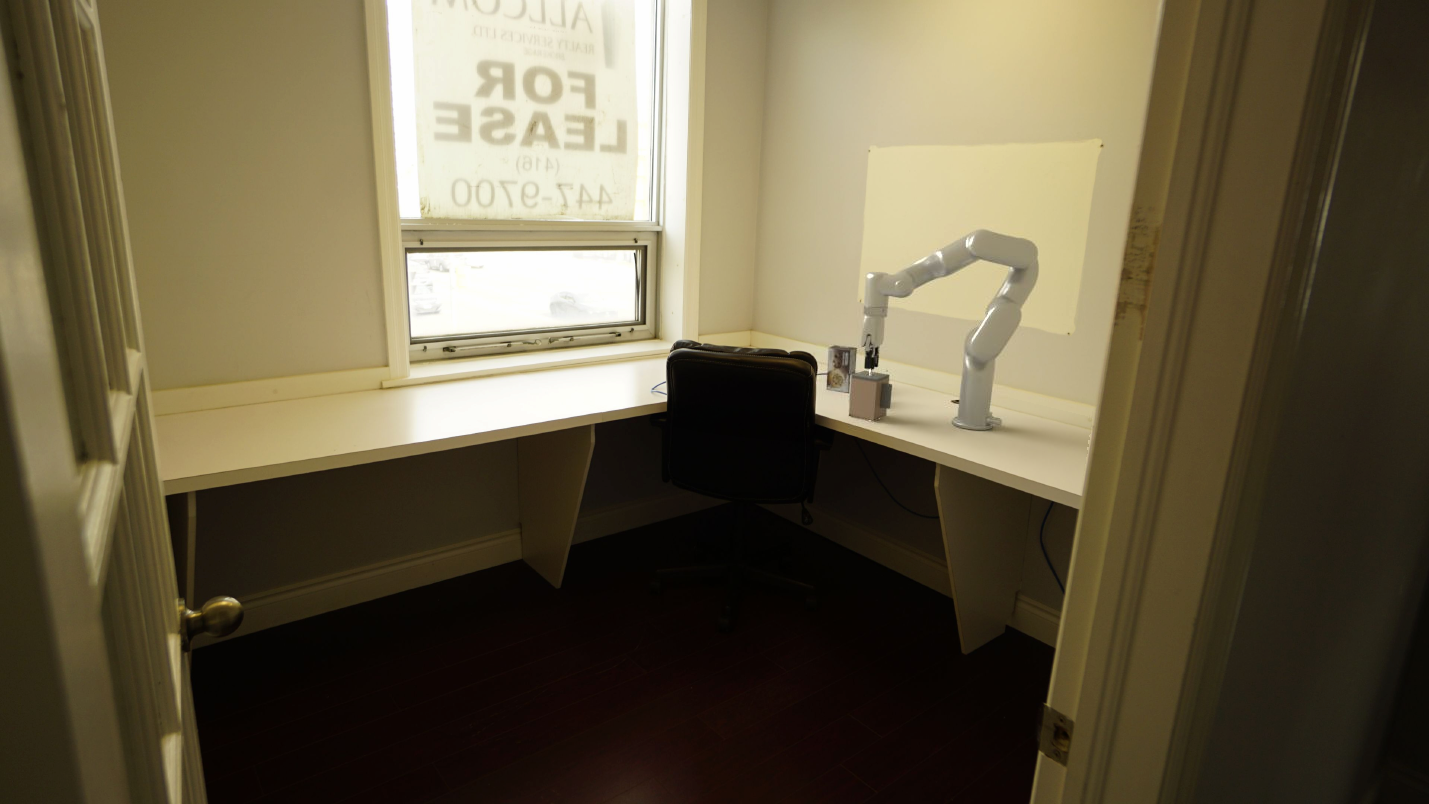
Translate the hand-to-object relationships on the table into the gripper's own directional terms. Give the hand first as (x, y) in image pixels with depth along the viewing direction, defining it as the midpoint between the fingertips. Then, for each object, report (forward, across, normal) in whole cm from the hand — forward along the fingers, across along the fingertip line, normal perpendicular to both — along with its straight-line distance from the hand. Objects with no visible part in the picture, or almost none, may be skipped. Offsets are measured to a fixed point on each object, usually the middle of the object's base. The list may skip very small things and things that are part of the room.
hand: (871, 367), depth 251 cm
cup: (+17, -16, -7) cm, 24 cm away
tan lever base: (+17, 0, +1) cm, 17 cm away
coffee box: (+17, -30, -20) cm, 40 cm away
